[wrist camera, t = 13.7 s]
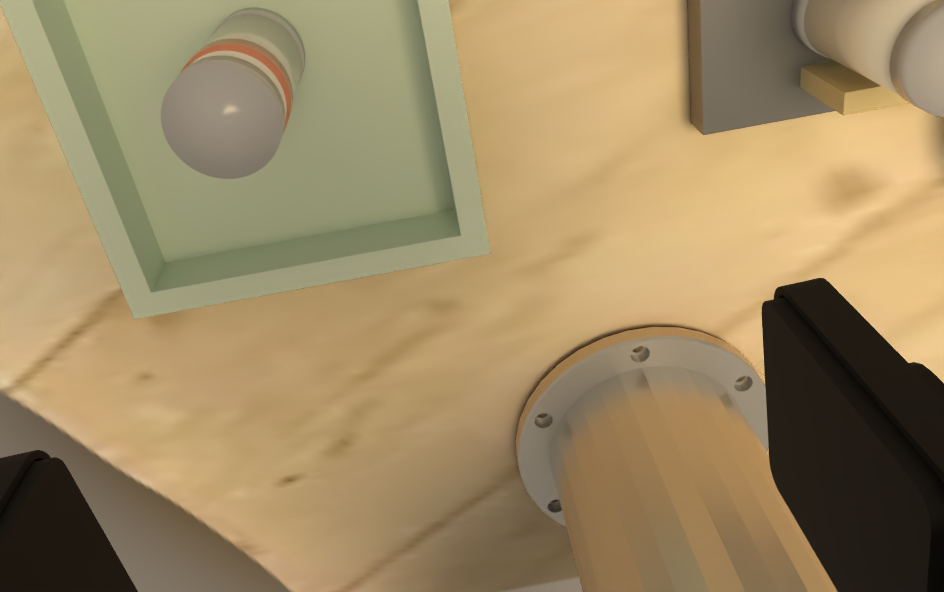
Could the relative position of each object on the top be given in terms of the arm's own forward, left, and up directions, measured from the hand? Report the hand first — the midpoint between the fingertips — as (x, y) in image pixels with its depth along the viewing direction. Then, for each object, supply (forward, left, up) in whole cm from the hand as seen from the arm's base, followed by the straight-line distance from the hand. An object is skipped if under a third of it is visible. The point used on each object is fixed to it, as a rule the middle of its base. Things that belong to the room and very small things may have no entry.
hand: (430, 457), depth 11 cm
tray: (0, +5, -24) cm, 24 cm away
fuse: (-1, -16, -22) cm, 27 cm away
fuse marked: (+1, +5, -23) cm, 23 cm away
